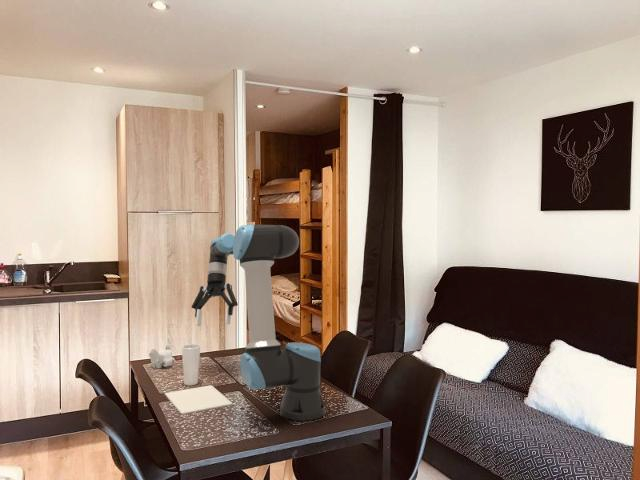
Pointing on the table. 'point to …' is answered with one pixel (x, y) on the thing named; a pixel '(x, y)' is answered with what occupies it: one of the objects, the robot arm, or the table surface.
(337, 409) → the table surface
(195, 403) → the felt placemat
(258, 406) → the table surface
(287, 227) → the robot arm
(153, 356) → the elephant figurine
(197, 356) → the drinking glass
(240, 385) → the table surface
